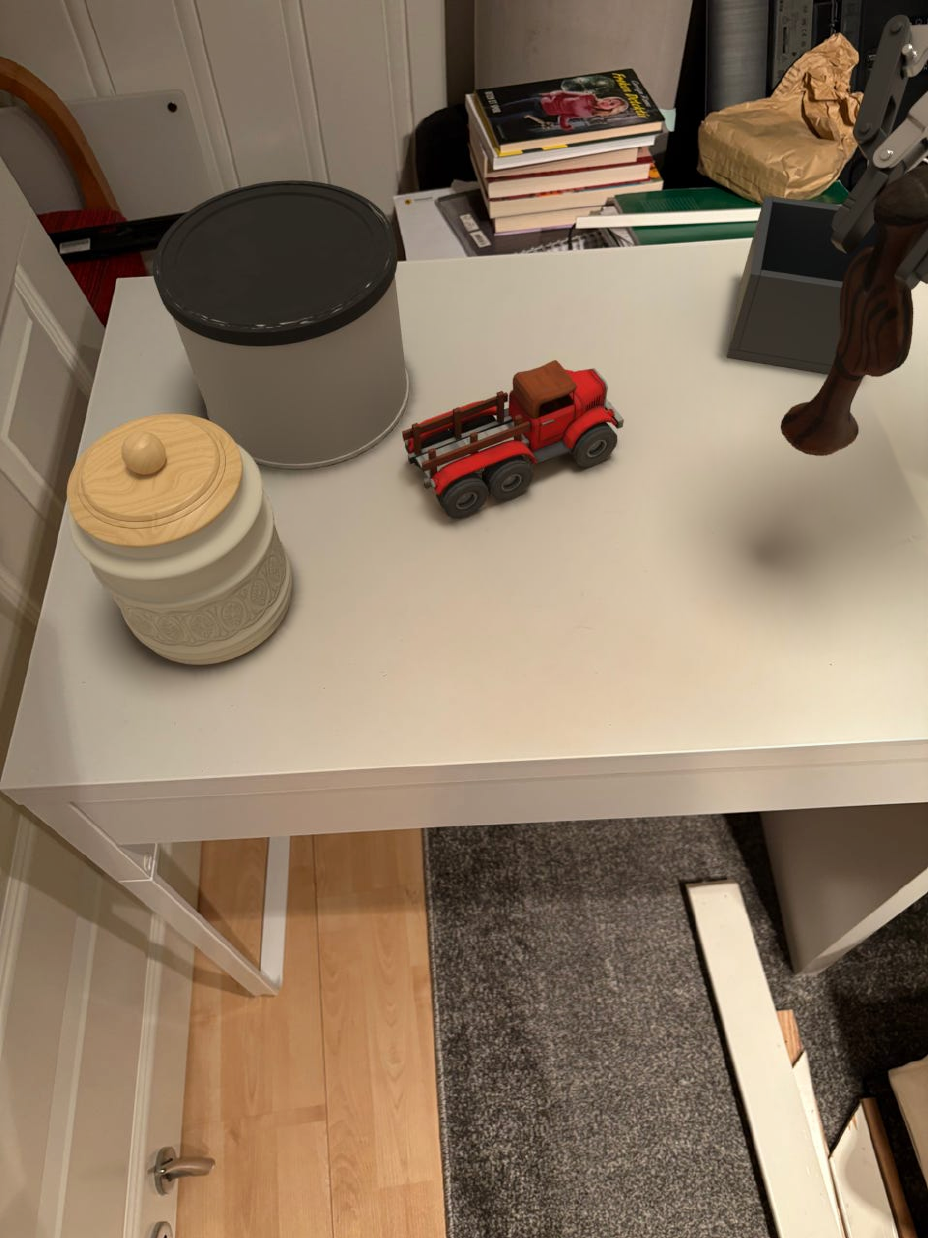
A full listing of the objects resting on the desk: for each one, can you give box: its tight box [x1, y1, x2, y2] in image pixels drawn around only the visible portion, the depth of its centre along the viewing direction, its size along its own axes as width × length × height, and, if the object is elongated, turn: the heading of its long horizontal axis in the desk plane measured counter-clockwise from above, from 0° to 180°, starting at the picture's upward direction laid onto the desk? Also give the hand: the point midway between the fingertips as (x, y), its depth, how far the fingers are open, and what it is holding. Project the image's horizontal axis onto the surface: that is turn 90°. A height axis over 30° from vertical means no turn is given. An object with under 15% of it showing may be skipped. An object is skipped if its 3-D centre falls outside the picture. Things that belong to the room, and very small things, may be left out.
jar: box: [66, 413, 293, 666], centre depth 62 cm, size 13×13×18 cm
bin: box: [726, 195, 878, 375], centre depth 80 cm, size 12×12×9 cm
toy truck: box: [401, 359, 625, 520], centre depth 73 cm, size 8×18×8 cm, turn 116°
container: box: [152, 179, 410, 470], centre depth 75 cm, size 19×19×15 cm
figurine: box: [780, 164, 928, 457], centre depth 51 cm, size 7×5×18 cm
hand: (872, 263), depth 46 cm, fingers closed on figurine, 3 cm apart
